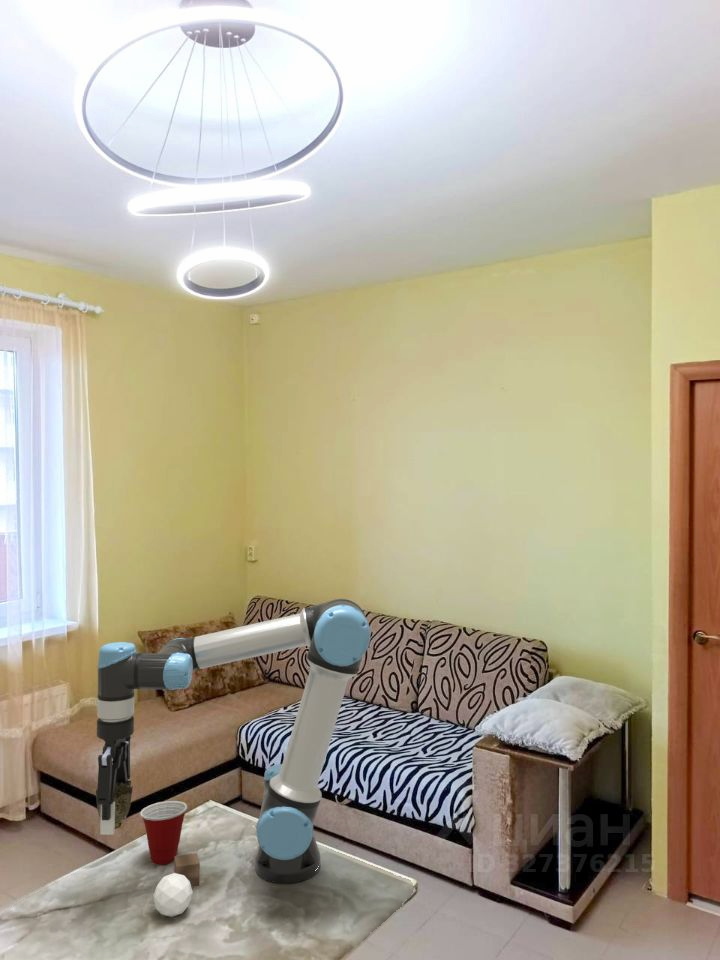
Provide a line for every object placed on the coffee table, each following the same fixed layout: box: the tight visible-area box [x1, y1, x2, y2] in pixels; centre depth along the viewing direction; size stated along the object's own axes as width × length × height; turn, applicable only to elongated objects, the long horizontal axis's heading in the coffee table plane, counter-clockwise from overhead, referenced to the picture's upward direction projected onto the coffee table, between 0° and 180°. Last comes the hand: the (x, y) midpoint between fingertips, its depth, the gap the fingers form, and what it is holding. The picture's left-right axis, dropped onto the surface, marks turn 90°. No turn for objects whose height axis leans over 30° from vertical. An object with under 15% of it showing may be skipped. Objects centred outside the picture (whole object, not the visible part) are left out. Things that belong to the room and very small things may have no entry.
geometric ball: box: [152, 872, 194, 918], centre depth 148 cm, size 8×8×8 cm
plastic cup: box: [140, 800, 188, 866], centre depth 170 cm, size 11×11×12 cm
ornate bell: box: [95, 783, 134, 830], centre depth 152 cm, size 8×7×8 cm
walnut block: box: [173, 852, 201, 888], centre depth 160 cm, size 5×5×5 cm
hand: (113, 825), depth 152 cm, fingers closed on ornate bell, 7 cm apart
